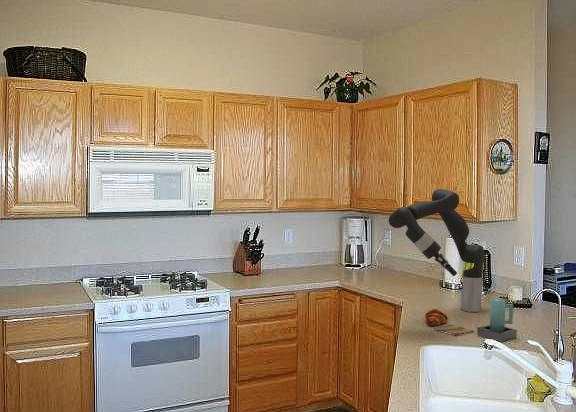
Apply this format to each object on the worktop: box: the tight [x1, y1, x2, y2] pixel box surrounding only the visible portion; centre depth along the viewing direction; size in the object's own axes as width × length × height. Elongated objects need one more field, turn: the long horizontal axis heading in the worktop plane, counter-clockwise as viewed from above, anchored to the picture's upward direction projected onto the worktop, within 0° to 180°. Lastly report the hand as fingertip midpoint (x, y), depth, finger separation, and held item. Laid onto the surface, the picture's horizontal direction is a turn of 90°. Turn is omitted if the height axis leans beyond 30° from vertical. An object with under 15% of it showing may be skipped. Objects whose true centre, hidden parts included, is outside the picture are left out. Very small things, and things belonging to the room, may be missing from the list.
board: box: [433, 324, 475, 336], centre depth 246 cm, size 12×12×1 cm
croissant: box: [424, 308, 449, 326], centre depth 261 cm, size 21×10×8 cm, turn 153°
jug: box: [489, 297, 514, 332], centre depth 237 cm, size 9×6×16 cm, turn 82°
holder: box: [476, 324, 518, 343], centre depth 238 cm, size 11×11×4 cm
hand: (454, 273), depth 240 cm, fingers open, 8 cm apart
